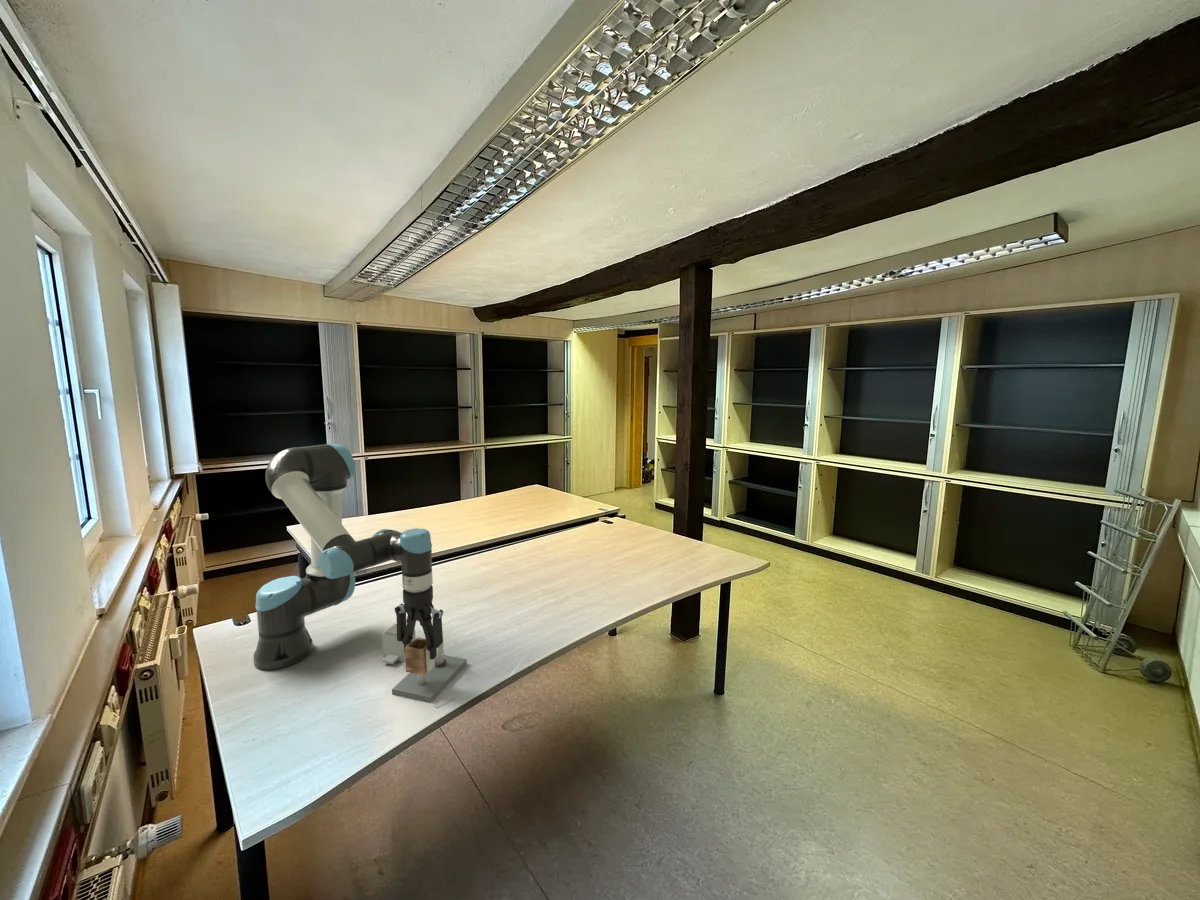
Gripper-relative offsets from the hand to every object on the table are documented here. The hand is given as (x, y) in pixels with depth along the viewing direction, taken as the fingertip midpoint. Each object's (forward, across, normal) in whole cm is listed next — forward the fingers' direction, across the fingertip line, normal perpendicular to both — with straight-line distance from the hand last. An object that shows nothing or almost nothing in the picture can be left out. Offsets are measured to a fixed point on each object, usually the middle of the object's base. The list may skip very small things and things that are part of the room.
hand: (421, 666), depth 127 cm
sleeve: (0, 0, 0) cm, 0 cm away
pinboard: (+6, 0, +4) cm, 8 cm away
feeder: (+6, -16, +10) cm, 20 cm away
